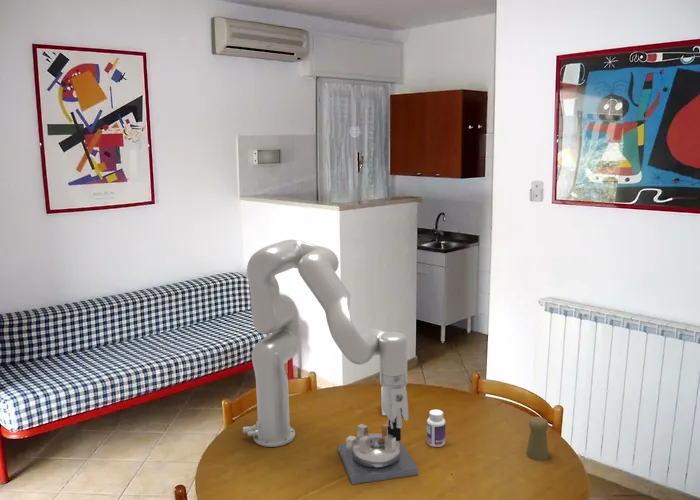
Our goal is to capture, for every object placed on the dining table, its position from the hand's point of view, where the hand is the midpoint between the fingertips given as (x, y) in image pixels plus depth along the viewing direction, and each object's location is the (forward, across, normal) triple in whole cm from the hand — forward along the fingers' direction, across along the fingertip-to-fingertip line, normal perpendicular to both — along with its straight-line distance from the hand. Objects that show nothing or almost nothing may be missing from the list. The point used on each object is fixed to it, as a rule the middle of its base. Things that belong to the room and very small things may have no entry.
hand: (394, 439), depth 168 cm
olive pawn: (+7, -8, -40) cm, 41 cm away
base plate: (+6, 0, +5) cm, 8 cm away
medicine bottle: (+6, +30, -9) cm, 32 cm away
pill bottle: (+6, +6, -15) cm, 17 cm away
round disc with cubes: (+4, +1, +4) cm, 6 cm away
